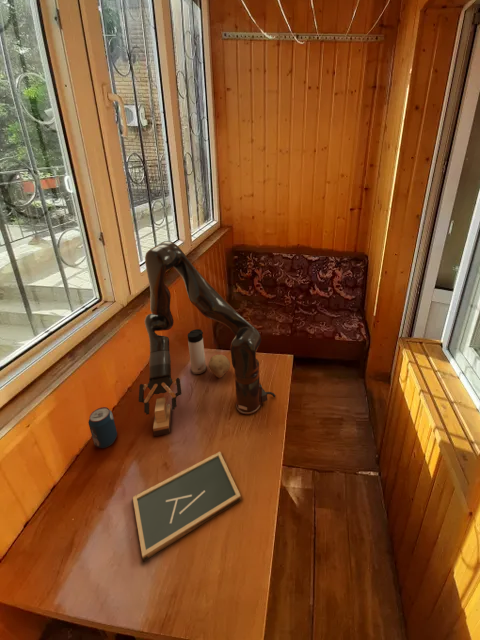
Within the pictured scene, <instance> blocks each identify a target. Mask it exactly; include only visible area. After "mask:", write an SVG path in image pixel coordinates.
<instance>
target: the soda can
mask: <svg viewBox="0 0 480 640" xmlns="http://www.w3.org/2000/svg"><path fill="white" fill-rule="evenodd" d="M88 426H89V430H90V433H91V438H92V441H93V445H94V447H96V448H99V449H106V448H108V447H110V446H111V445H113V444H114V442H115V441H116V439H117V436H118V430H117V427H116V423H115V418H114V415H113V412H112V410H110V408H109V407H108V406H107V407H106V406H102V407H97V409H95V410H93V411H92V412H91V413H90V415H89V418H88Z"/></svg>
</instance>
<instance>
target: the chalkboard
mask: <svg viewBox="0 0 480 640" xmlns="http://www.w3.org/2000/svg"><path fill="white" fill-rule="evenodd" d="M241 497H242V496H241V493H240V491H239V489H238V487H237V485H236V483H235V481H234V478H233V476H232V474H231V471H230V470H229V468H228V465H227V463H226V461H225V459H224V457H223V454H222V452H221V451H218V452H216V453H214V454H212V455H210V456H208V457H207V458H204V459H203V460H201V461H199V462H197V463H195V464H193V465H191V466H189V467H188V468H185V469H183V470H181V471H180V472H178V473H176V474H173V475H172V476H170V477H168V478H166V479H164V480H162V481H160V482H159V483H157V484H155V485H153V486H151V487H149V488H147V489H145V490H144V491H141V492H140V493H138V494H136V495H134V496H132V503H133V509H134V516H135V521H136V526H137V534H138V539H139V545H140V554H141V558H142V562H145V561H146V560H149V559H150V558H152V557H153V556H155V555H157V554H158V553H160V552H162V551H163V550H164V549H166V548H168V547H170V545H172V544H174V543H176V542H177V541H179V540H180V539H182V538H183V537H185V536H186V535H188V534H191V532H193V531H194V530H196V529H198V528H200V527H201V526H202V525H204V524H205V523H208V522H209V521H210V520H212V519H213V518H215V517H217V516H218V515H220V514H222V513H223V512H225V511H227V510H228V509H229V508H231V507H233V506H234V505H236V504H237V503H239V502H240V501H241V500H242V498H241Z"/></svg>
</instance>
